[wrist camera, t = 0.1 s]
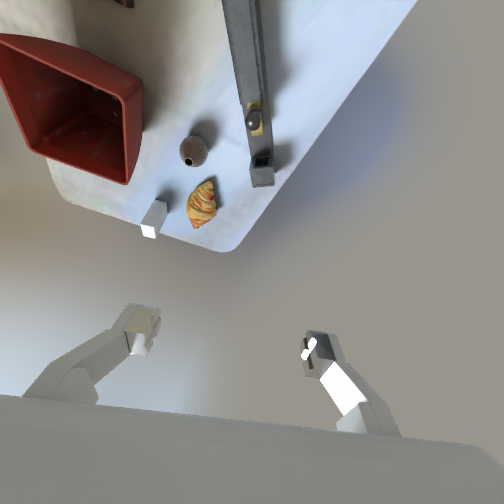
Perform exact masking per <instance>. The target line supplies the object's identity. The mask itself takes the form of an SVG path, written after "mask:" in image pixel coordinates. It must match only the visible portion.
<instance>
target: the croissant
mask: <svg viewBox="0 0 504 504" xmlns="http://www.w3.org/2000/svg"><path fill="white" fill-rule="evenodd" d="M186 211H187V215H188V217H189V219H190V220H191V224H192V225H193V228H195V229H197V228H199V226H202V225H203V224H205V223H207V222H208V221H210V220H211V219H212V218H213V217H215V216H216V215H217V210H216V203H215V200H214V193H213V184H212V182H211V181H206V182H205V183H203V184H202V185H200V186H199V187H197V188H196V189H195V190H194V192H193V193H192V194H191V195H190V196H189V198H188V201H187V206H186Z"/></svg>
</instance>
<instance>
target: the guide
mask: <svg viewBox="0 0 504 504" xmlns="http://www.w3.org/2000/svg"><path fill="white" fill-rule="evenodd" d="M222 5H223V11H224V16H225V22H226V28H227V33H228V39H229V44H230V50H231V55H232V61H233V66H234V72H235V78H236V83H237V89H238V94H239V100H240V105H241V104H242V108H243V114H244V119H246V115H247V111H248V107H247V103H252V102H258V101H260V104H261V111H262V121H263V129H264V131H263V135H257V136H252V132H251V131H250V130H249V129H247V127H246V131H247V137H248V142H249V148H250V154H251V163H250V169H249V170H250V175H251V181H252V186H253V188H255V187H265V186H275V169H274V158H273V147H272V136H271V125H270V114H269V103H268V92H267V81H266V70H265V59H264V48H263V37H262V26H261V15H260V3H259V0H222Z"/></svg>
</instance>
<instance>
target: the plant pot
mask: <svg viewBox="0 0 504 504" xmlns="http://www.w3.org/2000/svg"><path fill="white" fill-rule="evenodd" d="M0 84H1V86H2V88H3V91H4V93H5V95H6V98H7V100H8V102H9V105H10V107H11V109H12V112H13V114H14V116H15V119H16V121H17V123H18V126H19V128H20V130H21V132H22V135H23V137H24V140H25V142H26V144H27V146H28V148H29V149H30V150H31V151H33V152H35V153H37V154H40V155H43V156H45V157H48V158H50V159H53V160H56V161H59V162H61V163H64V164H67V165H69V166H72V167H75V168H78V169H81V170H83V171H86V172H89V173H92V174H94V175H97V176H100V177H103V178H105V179H108V180H111V181H113V182H116V183H119V184H122V185H128V183H129V181H130V179H131V176H132V174H133V171H134V168H135V165H136V162H137V159H138V155H139V151H140V146H141V140H142V131H143V83H142V81H141V80H140V79H139V78H137V77H135V76H133V75H131V74H129V73H127V72H125V71H123V70H121V69H119V68H117V67H116V66H114V65H112V64H110V63H108V62H106V61H104V60H102V59H100V58H98V57H96V56H94V55H92V54H90V53H88V52H86V51H84V50H82V49H79V48H76V47H73V46H70V45H67V44H63V43H59V42H55V41H51V40H47V39H42V38H37V37H31V36H24V35H15V34H5V33H0ZM92 86H94V87H96V88H98V92H95V91H94V90H93V89H92ZM110 94H112V95H114V96H116V97H117V99H118V100H117V101H114V100H112V98H111V96H110ZM113 111H114V112H116V113H117V114H118V118H116V117H114V116H113V114H112V112H113Z"/></svg>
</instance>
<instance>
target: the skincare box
mask: <svg viewBox="0 0 504 504" xmlns="http://www.w3.org/2000/svg"><path fill="white" fill-rule="evenodd" d="M167 215H168V213H167V203H166V202H162V201H158V200H154V202H153V203H152V205H151V207H150V208H149V210H148V212H147V214H146V215H145V217H144V219H143V220H142V222H141V224H140V225H141V228H142V232H143V236H147V237H151V238H156V237H157V235H158V233H159V231H160V229H161V227H162V225H163V223H164V221H165V219H166V217H167Z"/></svg>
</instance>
